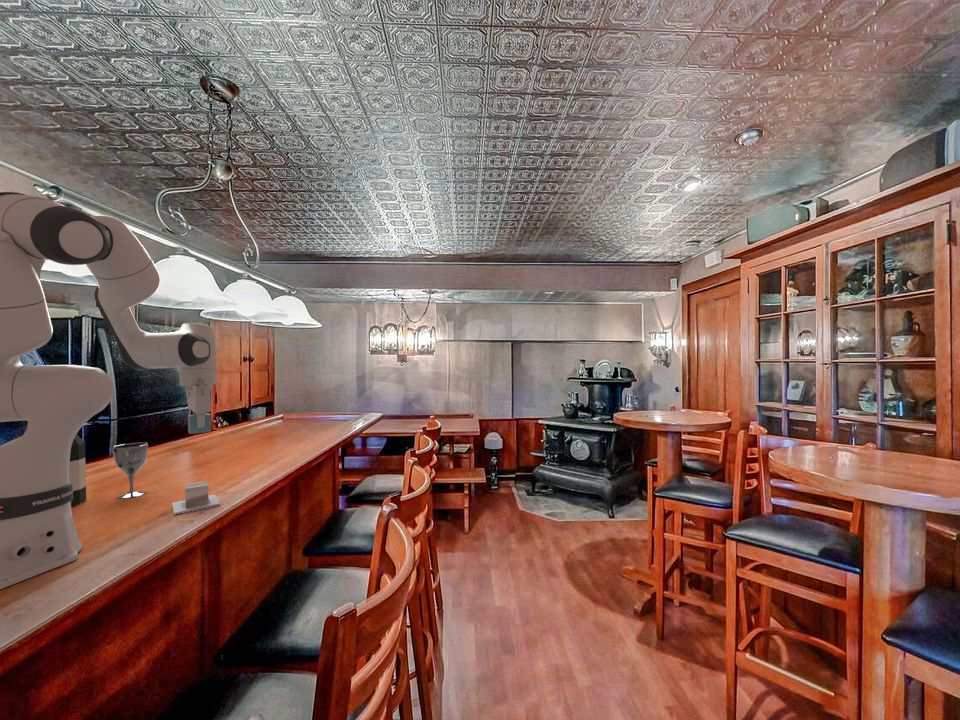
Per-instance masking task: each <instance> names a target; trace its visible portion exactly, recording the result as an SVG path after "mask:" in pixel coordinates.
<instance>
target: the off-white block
mask: <svg viewBox="0 0 960 720" xmlns="http://www.w3.org/2000/svg"><path fill="white" fill-rule="evenodd" d="M184 490H185V496H184V497H185V500H186V507H191V506H197V505H202V504H207V503H208V496H209V481H208V480H204V481H198V482H192V483H185V489H184Z"/></svg>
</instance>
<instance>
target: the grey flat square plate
mask: <svg viewBox="0 0 960 720" xmlns="http://www.w3.org/2000/svg"><path fill="white" fill-rule="evenodd" d="M171 504H172V505H171V506H172V512H173V515H174V516H176V514H178V515H181V514H180V513H182V514H186V512H187V513H191V512H190V511H192V512H195V511H194V510H196V511H199V510H198V509H201V510H204V509H203V508H206V509H210V508H209V507H211V508H214V507H213V506H215V507H219V506H218V505H220V506H221V502H220V500H219V498H218V497H217V495H216V494H210V495H209V494H208V503H207V504H202V505H197V506H191V507H186V499H185V500H180V501H175V502H172V503H171Z"/></svg>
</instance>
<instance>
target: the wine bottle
mask: <svg viewBox="0 0 960 720" xmlns="http://www.w3.org/2000/svg"><path fill="white" fill-rule="evenodd" d="M86 468H87V467H86V443H85V442H84V440H83V439H82V438H81V437H80V436H79V435H78V433H77V434H76V436H75V438H74V440H73V443H72V446H71V452H70V464H69V481H70V482H72V487H73V499H72V502H71V507H74V506H73V505H75V506H77V505H76V504H79V505H81V504H83V503H84V501H85V500H86V501H87V474H86V473H87V472H86V471H87V470H86ZM86 501H85V502H86ZM82 502H83V503H82ZM80 503H81V504H80Z"/></svg>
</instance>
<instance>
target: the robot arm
mask: <svg viewBox="0 0 960 720" xmlns="http://www.w3.org/2000/svg"><path fill="white" fill-rule="evenodd" d="M46 261H51V262H54V263H58V264H62V265H66V266H67V265H70V266H79V265H86V267H87V269H88V270H89V271H90V273H91V274H92V275H93V277H94V279H95V280H96V282H97V286H96V288H95V290H94V301H95V303H96V306H97V308H98V310H99V313H100V314H101V316H102V318H103V320H104V322H105V324H106V326H107V327H108V330H109V332H110V333H111V335H112V337H113V339H114V341H115V343H116V345H117V348H118V352H119V356H120V358H121V360H122V362H123V363H124V364H125V365H126V366H127V367H129V368H130V369H132V370H135V371H149V370H155V369H175V368H177V369H179V386H181V387H182V386H184V388H185V389H184V391H185V395H186V403H187V407H188V409H189V410H190V411H191V412H192V415H194V414H196V418H197V427H198V428H203V427H205V416H206V413H210V412H211V410H212V405H211V404H212V401H211V390H213V388H212V385H217V382H218V381H217V366H216V362H215V361H216V360H215V358H216V355H217V346H216V345H217V344H216V338H215V333H214V330H213V328H212V326H211V325H208V324H206V323H203V322H196V321H195V322H192V321H191V322H185V323H182V325H181V326H180V329H179V330H176V331H174V332H173V331H171V332H149V331H145V330H143V329H141V328H140V327H139V325H138V322H137V320H136V319H135V315H134V314H133V312H132V310H131V309H132V308H131V307H134V306H136V305H139V304H142V303H144V302H146V301H147V300H148V299H150V298H151V297H152V296H154V295H155V293H156V292H157V291H158V290H159V288H160V285H161V275H160V272H159V270H158V267H157V266H156V264H155V263H154V260H153V259H152V258H151V256H150V254H149V253H148V251H147V250H146V248H145V247H144V245H143V244H142V243H141V241H140V240H139V239H138V237H137V236H136V235H135V234H134V232H132V230H131V229H130V228H129V227H128V226H127V225H126V224H125V223H124V222H123V221H122V220H121V219H118V218H116V217H113V216H111V215H104V214H103V215H102V214H101V215H100V214H99V215H97V214H95V215H90V214H88V213H86V212H85V211H83V210H79V209H77V208H75V207H72V206H66V205H63V204H61V203H59V202H56V201H54V200H51V199H48V198H44V197H41V196H35V195H29V194H24V193H20V192H15V191H0V423H6V422H19V421H20V422H21V421H25V422H27V427H26V430H25V432H24V433H23V435H22V436H19V437H16V438H14V439H12V440H9V441H8V442H6V443H3V444H2V445H0V590H2V589H4V588H7V587H9V586H12V585H15V584H18V583H19V582H22V581H25V580H28V579H30V578H32V577H35V576H38V575H40V574H43V573H45V572H48V571H51V570H53V569H56V568H58V567H61V566H64V565H66V564H68V563H71V562H74V561H76V560H77V559H78V558H79V554H78V553H79V552H80V551H81V550H82V549H83V545H82V542H81V540H80V539H79V535H78V531H77V530H76V526H75V522H74V516H73V511H72V506H71V502H72V499H73V487H72V482H70V481H69V464H70V452H71V446H72V443H73V440H74V438H75V436H76V434H77V435H78V433H79V431H80V430H81V429H82V427H83V426H84V425H85V424H86V423H87V422H88V421H89V420H90V419H91V418H92V417H94V416H95V415H97V414H98V413H100V412H102V411H103V410H105V408H106V407H107V406H108V405H109V404H110V403H111V401H112V400H113V397H114V392H115V391H114V390H115V389H114V383H113V381H112V378H111V377H110V375H108V373H107V372H105V370H103V369H101V368H99V367H93V366H92V367H91V366H86V365H85V366H84V365H79V364H78V365H77V364H51V365H49V364H48V365H47V364H46V365H45V364H44V365H43V364H42V365H41V364H40V365H35V364H34V365H30V364H29V365H28V364H23V363H22V361H21V357H20V356H23V355H25V354H28V353H31V352H33V351H36V350H38V349H40V348H42V347H44V346H45V345H47V343H49V342H50V340H51V339H52V337H53V333H54V330H53V324H52V320H51V317H50V313H49V308H48V305H47V301H46V296H45V293H44V289H43V286H42V283H41V272H42V268H43V266H44V265H45V263H46Z"/></svg>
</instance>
